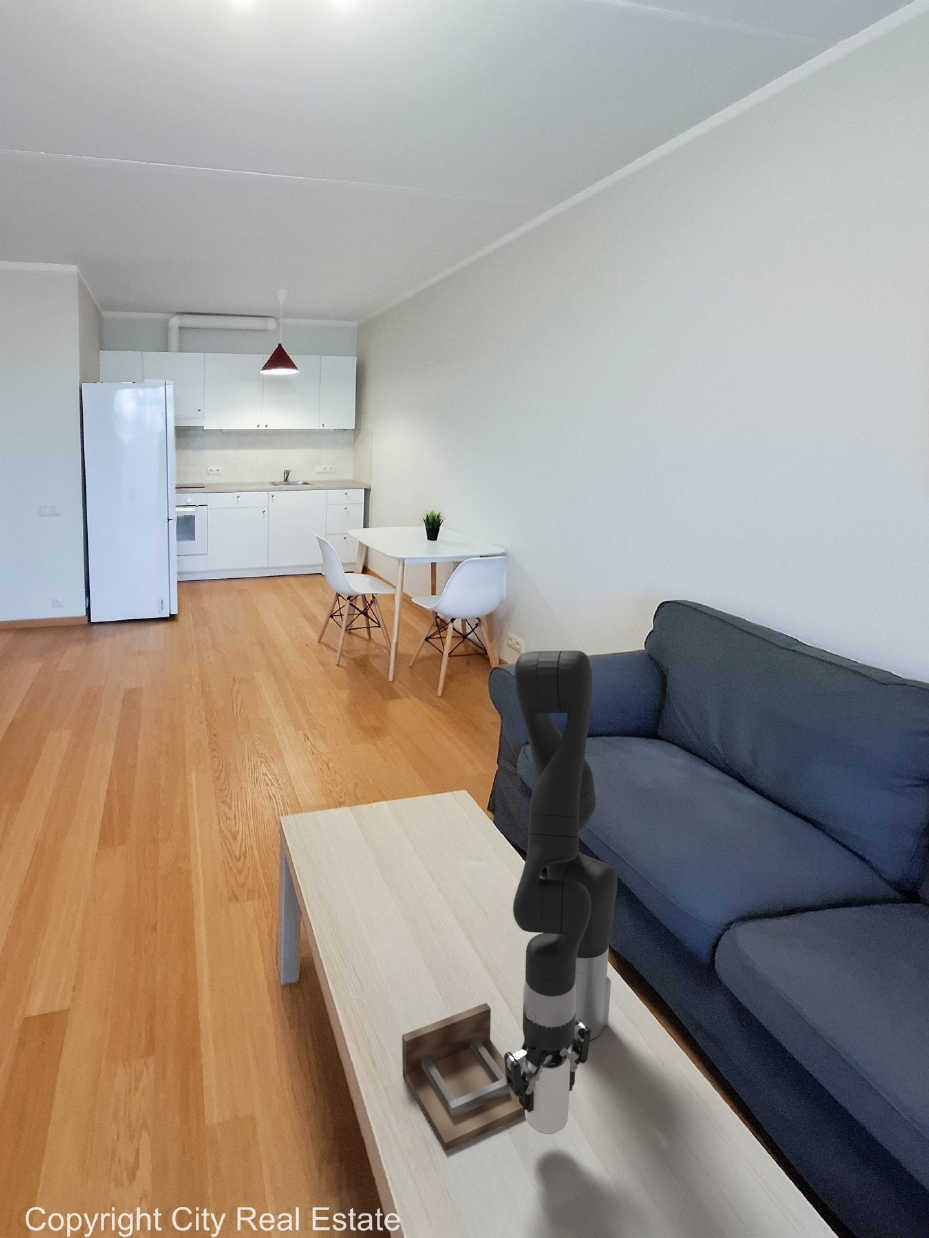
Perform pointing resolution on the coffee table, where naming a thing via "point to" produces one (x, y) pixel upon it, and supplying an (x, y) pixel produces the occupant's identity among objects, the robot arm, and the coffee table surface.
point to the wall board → (459, 1076)
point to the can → (550, 1097)
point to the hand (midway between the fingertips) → (546, 1096)
